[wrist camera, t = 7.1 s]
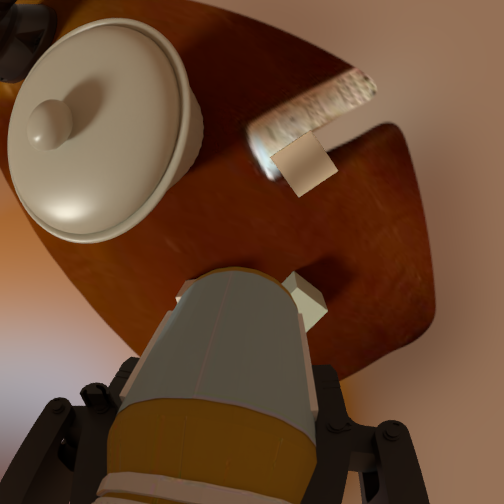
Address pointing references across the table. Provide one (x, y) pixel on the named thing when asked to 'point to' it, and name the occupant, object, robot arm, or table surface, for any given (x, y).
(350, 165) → the table surface
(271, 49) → the table surface
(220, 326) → the bottle
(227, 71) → the table surface
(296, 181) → the birch cube
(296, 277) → the sage cube
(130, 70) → the canister
